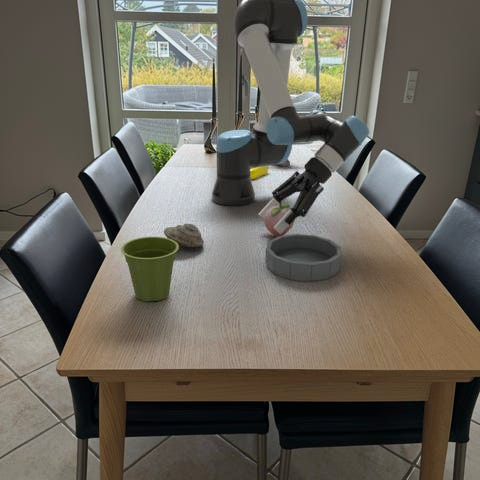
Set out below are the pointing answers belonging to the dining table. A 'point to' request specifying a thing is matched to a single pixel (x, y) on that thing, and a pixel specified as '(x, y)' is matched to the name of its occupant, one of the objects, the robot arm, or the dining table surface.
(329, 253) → the bowl
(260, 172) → the element tile
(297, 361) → the dining table surface
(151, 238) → the plant pot
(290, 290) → the dining table surface
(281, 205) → the decorative fruit
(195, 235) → the fossilized seashell
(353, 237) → the dining table surface
